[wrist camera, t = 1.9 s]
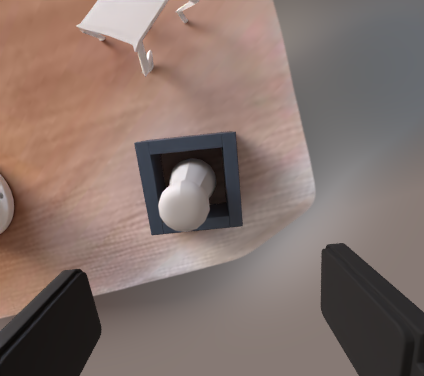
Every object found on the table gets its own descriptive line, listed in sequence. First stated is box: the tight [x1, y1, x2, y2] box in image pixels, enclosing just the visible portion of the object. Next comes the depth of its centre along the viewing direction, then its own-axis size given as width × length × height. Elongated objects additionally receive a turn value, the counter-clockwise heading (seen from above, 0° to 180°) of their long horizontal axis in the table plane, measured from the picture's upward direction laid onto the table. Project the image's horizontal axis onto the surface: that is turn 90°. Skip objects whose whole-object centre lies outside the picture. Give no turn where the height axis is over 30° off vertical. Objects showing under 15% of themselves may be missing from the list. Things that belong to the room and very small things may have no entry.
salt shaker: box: [158, 158, 216, 232], centre depth 25 cm, size 6×6×13 cm
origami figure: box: [77, 0, 199, 77], centre depth 24 cm, size 12×8×5 cm
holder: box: [134, 131, 243, 235], centre depth 28 cm, size 11×11×5 cm
